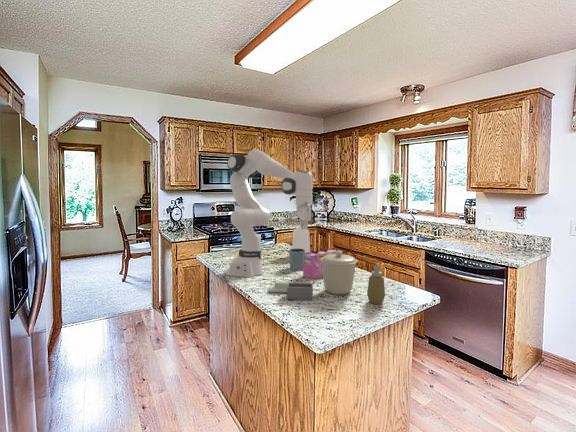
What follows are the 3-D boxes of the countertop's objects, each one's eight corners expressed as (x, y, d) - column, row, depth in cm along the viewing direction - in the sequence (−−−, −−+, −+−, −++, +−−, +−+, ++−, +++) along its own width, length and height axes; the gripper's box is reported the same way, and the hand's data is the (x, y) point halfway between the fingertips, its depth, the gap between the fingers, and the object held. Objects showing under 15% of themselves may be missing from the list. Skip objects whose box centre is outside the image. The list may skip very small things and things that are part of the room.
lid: (269, 293, 167) (269, 284, 166) (271, 288, 174) (271, 279, 174) (294, 294, 166) (294, 285, 165) (295, 289, 173) (295, 280, 173)
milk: (291, 255, 247) (292, 220, 244) (307, 255, 248) (307, 220, 246) (294, 259, 235) (294, 222, 232) (310, 259, 237) (310, 222, 234)
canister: (318, 285, 179) (319, 246, 176) (353, 286, 178) (354, 247, 176) (321, 297, 161) (322, 254, 158) (359, 298, 160) (360, 254, 158)
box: (287, 299, 157) (287, 287, 157) (287, 294, 164) (287, 282, 164) (312, 300, 157) (312, 288, 156) (312, 295, 164) (312, 283, 163)
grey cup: (287, 269, 209) (287, 251, 207) (290, 265, 218) (291, 247, 217) (303, 271, 206) (303, 252, 205) (306, 266, 216) (306, 248, 215)
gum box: (331, 269, 211) (331, 248, 209) (340, 272, 205) (341, 250, 203) (302, 275, 196) (302, 253, 195) (311, 279, 190) (312, 255, 189)
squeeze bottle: (364, 299, 158) (365, 262, 156) (381, 299, 159) (382, 262, 157) (370, 306, 150) (371, 266, 148) (387, 305, 151) (389, 266, 149)
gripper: (314, 203, 166) (314, 230, 168) (306, 200, 187) (305, 224, 188) (301, 203, 166) (301, 230, 167) (294, 200, 186) (294, 225, 187)
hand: (303, 227), depth 178 cm, fingers open, 8 cm apart
